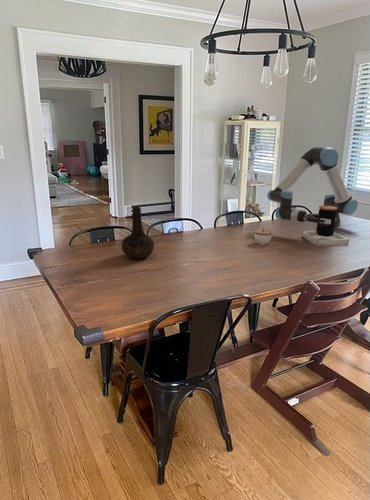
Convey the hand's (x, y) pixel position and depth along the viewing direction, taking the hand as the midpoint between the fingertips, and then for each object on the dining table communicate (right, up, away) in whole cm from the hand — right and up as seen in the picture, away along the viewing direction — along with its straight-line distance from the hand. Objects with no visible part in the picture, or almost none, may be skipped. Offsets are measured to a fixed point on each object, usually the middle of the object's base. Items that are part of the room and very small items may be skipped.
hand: (333, 220), depth 235 cm
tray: (-3, -13, +7) cm, 15 cm away
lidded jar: (-45, -15, 0) cm, 47 cm away
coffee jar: (-3, -9, +5) cm, 11 cm away
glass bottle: (-119, -23, -28) cm, 125 cm away
